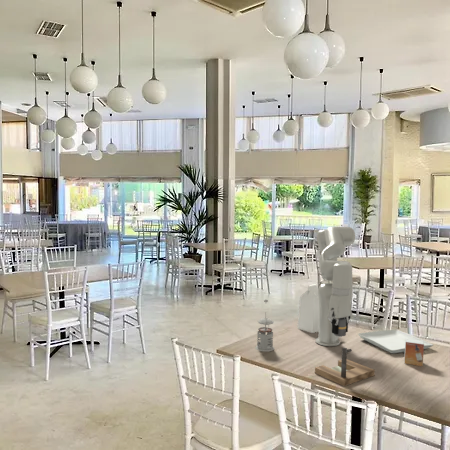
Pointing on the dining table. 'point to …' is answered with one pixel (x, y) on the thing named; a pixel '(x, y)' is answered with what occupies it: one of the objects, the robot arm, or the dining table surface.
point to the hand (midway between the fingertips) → (339, 332)
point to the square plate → (391, 340)
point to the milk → (309, 310)
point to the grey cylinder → (341, 327)
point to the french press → (265, 340)
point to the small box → (414, 352)
